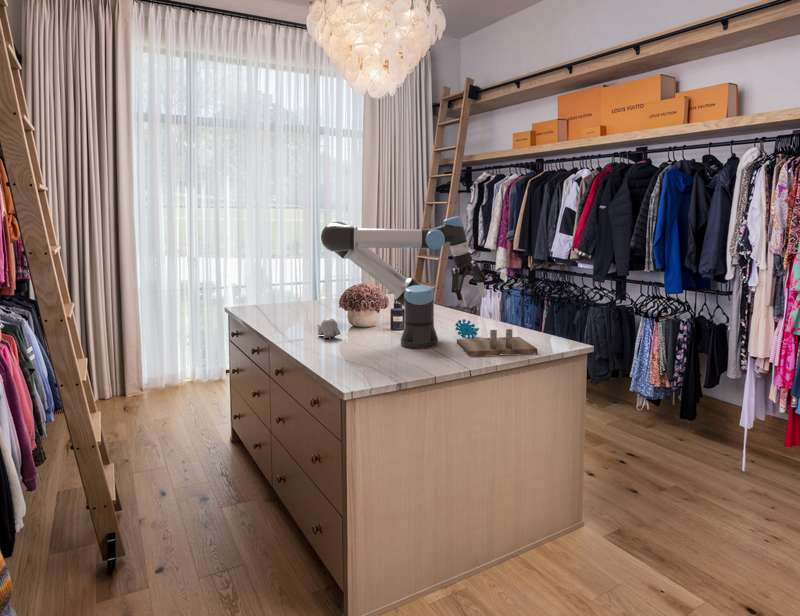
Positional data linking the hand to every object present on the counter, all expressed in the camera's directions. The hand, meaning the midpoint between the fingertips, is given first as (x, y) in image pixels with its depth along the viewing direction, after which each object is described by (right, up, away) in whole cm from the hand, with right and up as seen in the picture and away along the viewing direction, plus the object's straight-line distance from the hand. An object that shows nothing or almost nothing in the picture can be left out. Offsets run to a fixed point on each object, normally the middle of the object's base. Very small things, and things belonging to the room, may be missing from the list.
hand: (473, 302), depth 253 cm
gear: (-3, -15, +1) cm, 16 cm away
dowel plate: (+6, -18, -20) cm, 28 cm away
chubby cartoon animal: (-63, -16, +5) cm, 65 cm away
